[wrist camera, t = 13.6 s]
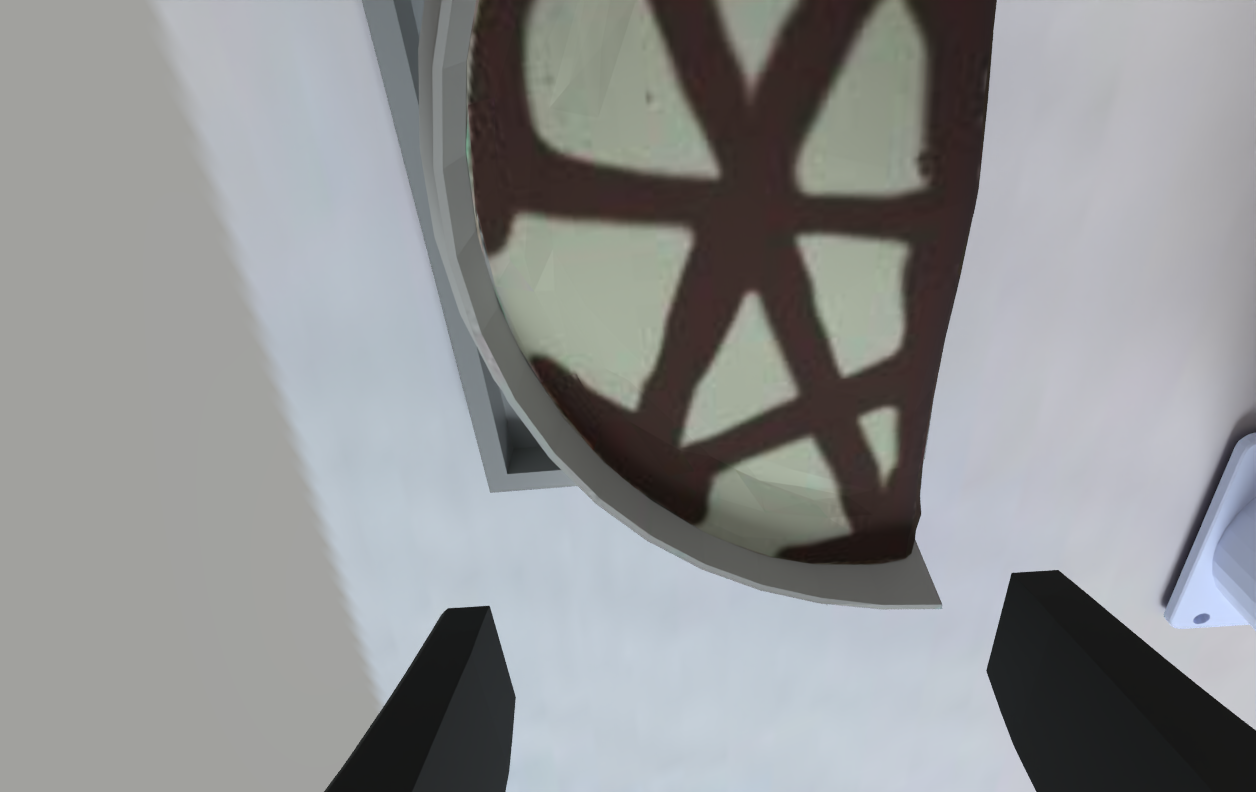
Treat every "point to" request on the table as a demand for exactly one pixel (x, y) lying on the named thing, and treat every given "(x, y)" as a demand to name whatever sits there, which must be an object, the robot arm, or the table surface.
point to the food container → (717, 259)
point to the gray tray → (496, 425)
